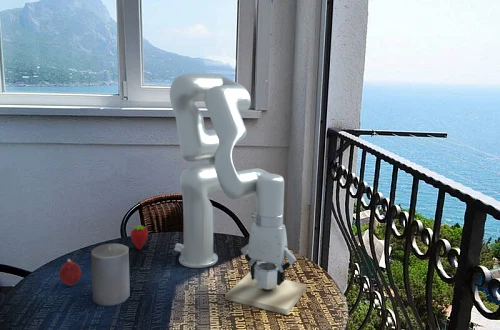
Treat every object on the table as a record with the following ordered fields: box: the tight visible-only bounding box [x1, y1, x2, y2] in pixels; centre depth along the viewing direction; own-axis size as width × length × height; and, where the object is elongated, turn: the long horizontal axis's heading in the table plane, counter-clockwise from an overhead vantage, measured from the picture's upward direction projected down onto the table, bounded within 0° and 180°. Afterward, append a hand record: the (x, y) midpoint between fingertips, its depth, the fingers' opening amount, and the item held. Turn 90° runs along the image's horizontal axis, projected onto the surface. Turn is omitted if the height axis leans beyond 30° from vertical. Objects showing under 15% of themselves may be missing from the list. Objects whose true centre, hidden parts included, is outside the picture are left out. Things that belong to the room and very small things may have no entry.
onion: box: [58, 258, 82, 287], centre depth 130 cm, size 6×6×8 cm
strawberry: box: [130, 224, 149, 250], centre depth 158 cm, size 6×8×10 cm
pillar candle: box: [90, 243, 131, 307], centre depth 123 cm, size 10×10×15 cm
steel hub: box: [253, 261, 279, 289], centre depth 127 cm, size 7×7×5 cm
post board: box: [224, 271, 308, 316], centre depth 128 cm, size 18×16×6 cm
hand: (267, 280), depth 128 cm, fingers closed on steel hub, 7 cm apart
